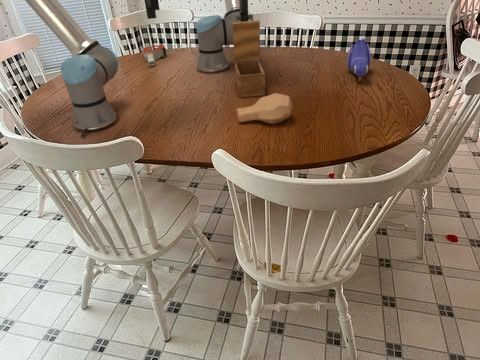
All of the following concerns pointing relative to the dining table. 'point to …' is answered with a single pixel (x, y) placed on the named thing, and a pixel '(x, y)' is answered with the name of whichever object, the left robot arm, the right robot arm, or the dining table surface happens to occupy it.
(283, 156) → the dining table surface
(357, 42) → the toy
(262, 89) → the wooden box
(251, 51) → the lid
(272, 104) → the squash
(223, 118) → the dining table surface
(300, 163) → the dining table surface
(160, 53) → the tape dispenser
